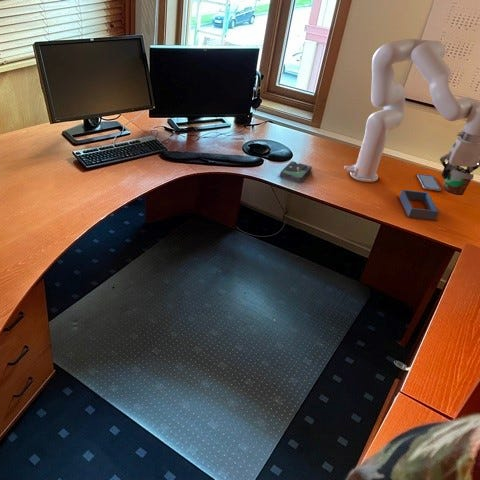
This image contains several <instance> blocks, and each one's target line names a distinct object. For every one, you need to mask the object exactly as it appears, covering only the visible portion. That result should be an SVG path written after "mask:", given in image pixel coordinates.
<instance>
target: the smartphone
mask: <svg viewBox="0 0 480 480" xmlns="http://www.w3.org/2000/svg"><path fill="white" fill-rule="evenodd" d="M416 176H417V178H418V180H419V183H420V184H421V187H422V188H423V189H424V190H430V191H438V192H440V191H441V190H442V188H441V186H440V185H439V183H438V181H437V179H436V177H434V175H430V174H421V173H417V175H416Z"/></svg>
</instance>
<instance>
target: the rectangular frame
mask: <svg viewBox="0 0 480 480" xmlns="http://www.w3.org/2000/svg"><path fill="white" fill-rule="evenodd" d="M398 198H399V200H400V202H401V205H402V207H403V209H404V211H405V213H406V215H407V217H408V218H413V219H420V220H421V219H423V220H430V221H436V220H437V219H438V216H439V213H440V210H439V209H438V208H437V206H436V204H435V203H434V201H433V199H432V197H431V195H430V194H429V192H427V191H420V190H419V191H417V190H409V189H402V190H401V192H400V194H399V196H398ZM411 200H412V201H418V202H419V201H421V202H423V203H424V205H425V207H426V209H423V208H415V207H413V205H412V203H411Z"/></svg>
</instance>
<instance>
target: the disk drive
mask: <svg viewBox="0 0 480 480" xmlns="http://www.w3.org/2000/svg"><path fill="white" fill-rule="evenodd" d="M312 168H313V166H311V165H308V164H304V163H297V162H296V161H294V160H291V161H290V162H289V163H288V164H287V165H286V166H285V167H284V168H283V169H282V170H281V171H280V173H279V177H281V178H284V179H286V180H290V181H293V182H297V183H301V182H302V181H304V179H306V178H307V176H308V175H309V174H310V173H311V171H312Z"/></svg>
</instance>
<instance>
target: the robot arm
mask: <svg viewBox="0 0 480 480" xmlns="http://www.w3.org/2000/svg"><path fill="white" fill-rule="evenodd" d="M445 55H446V47H445V45H444V44H443V43H442V42H441V41H438V40H430V39H429V40H427V39H417V38H404V39H399V40H398V39H397V40H392V41H389V42H387V43H384V44H383V45H381V46H379V47H378V48H377V50H376V51H375V52H374V54H373V56H372V60H371V86H370V87H371V90H370V93H371V94H370V101H371V105H372V106H373V107H375V108H377V109H379V108H381V109H380V110H376V111H374V112H373V113H371V114H370V115H369V116H368V118H367V119H366V123H365V132H364V135H363V140H362V143H361V146H360V149H359V153H358V157H357V159H356V163H354V164H353V165H346V164H345V165H344V166H343V170H346V171H347V172H349V175H350V177H352V178H353V179H355V180H356V181H359V182H365V183H374V182H377V181H378V179H379V175H378V174H377V171H378V169H379V165H380V163H381V162H380V161H381V159H382V157H383V152H384V149H385V147H386V144H387V133H388V131H392V130H394V129H397V128H399V127H400V126H401V125H402V123H403V121H404V117H405V106H406V91H405V88H404V86H403V85H402V84H401V83H400V82H397V81H394V80H395V71H394V68H393V64H396V63H397V64H398V63H401V62H402V63H403V62H407V61H410V62H412V63H413V65H414V66H415V67H416V69H417V71H419V74H420V75H421V76H422V77H423V79H424V80H425V82H426V83H427V85H428V87H429V94H430V100H431V102H432V104H433V106H434V107H435V109H436V110H437V112H438V113H439V115H440V116H441V117H442V118H443V119H445V120H446V121H449V122H456V121H458V120H462V119H466V121H465V124H464V126H463V129H462V130H461V132H457V133H456V136H457V138H456V140H455V141H454V142H453V144H452V146H451V148H450V150H449V152H448V153H446V154H444V155H442V156H440V157H439V158H438V160H439V161H440V163H441V165H442V166H443V167H444V168H443V170H442V172H441V177H442V179H443V180H445V179H446V178H447V176H448V173H449V168H450V167H452V166H453V165H455V166H460V167H463V168H464V167H465V170H466V171H467V172H468V173H469V174H472V173H473V172H474V171H475V170H477V169H479V168H480V101H479V100H476V99H474V98H473V97H469V96H464V97H460V98H456V97H455V96H454V93H452V91H451V88H450V85H449V84H450V78H451V75H452V70H451V68H450V67H449V65H448V64H447V63H446V62H445V60H444V58H445Z"/></svg>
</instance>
